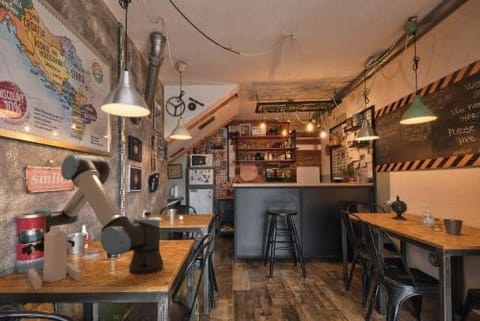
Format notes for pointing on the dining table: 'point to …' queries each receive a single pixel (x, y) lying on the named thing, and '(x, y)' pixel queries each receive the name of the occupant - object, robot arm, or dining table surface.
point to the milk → (55, 255)
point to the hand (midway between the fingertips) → (53, 249)
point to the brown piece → (37, 279)
